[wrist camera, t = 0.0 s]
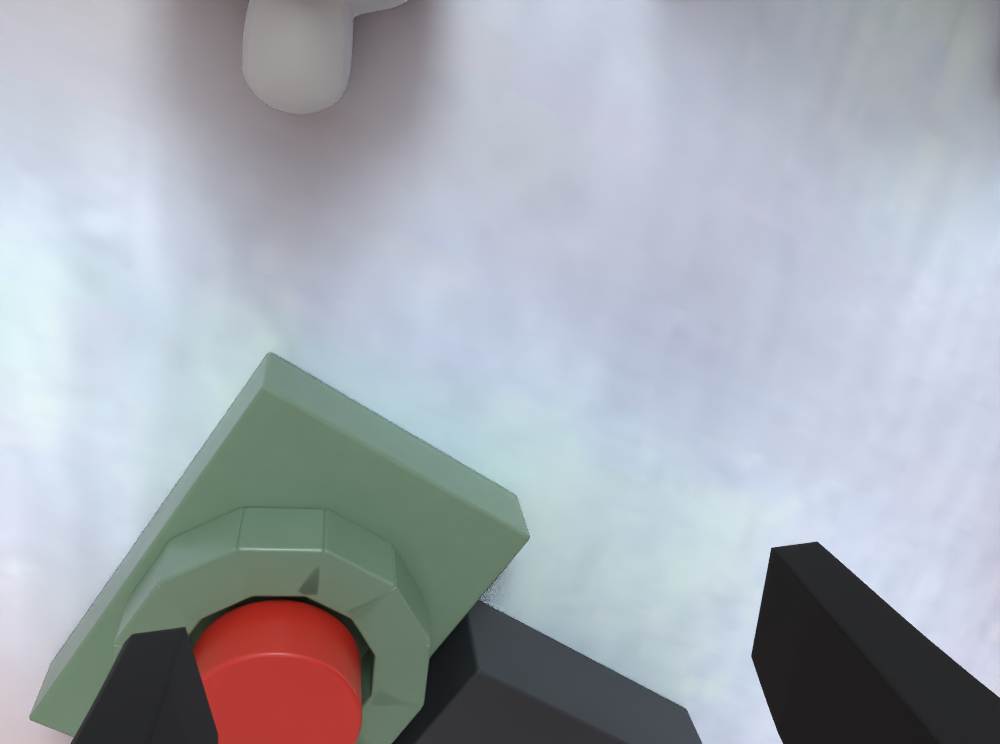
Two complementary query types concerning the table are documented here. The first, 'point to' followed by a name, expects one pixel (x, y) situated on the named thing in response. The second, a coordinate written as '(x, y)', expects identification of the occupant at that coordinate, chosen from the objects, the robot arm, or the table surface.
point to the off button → (281, 675)
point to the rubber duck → (301, 50)
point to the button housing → (305, 545)
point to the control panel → (533, 693)
